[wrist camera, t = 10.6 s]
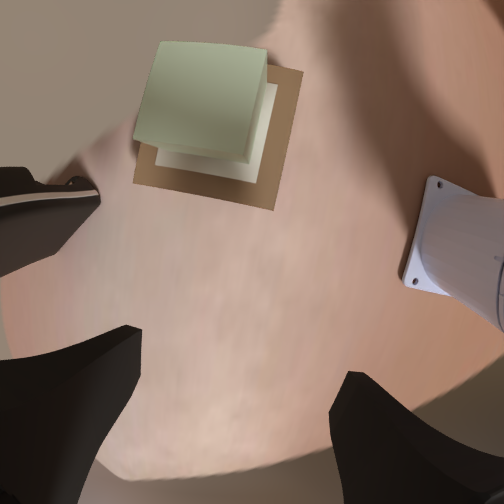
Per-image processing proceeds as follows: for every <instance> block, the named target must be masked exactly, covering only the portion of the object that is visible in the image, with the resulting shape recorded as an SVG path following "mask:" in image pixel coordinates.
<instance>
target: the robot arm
mask: <svg viewBox="0 0 504 504" xmlns="http://www.w3.org/2000/svg"><path fill="white" fill-rule="evenodd" d="M438 182H439V183H440V187H439V188H438V186H437V183H438ZM414 278H416V281H415V283H412V281H413V279H414ZM402 283H403V284H404V285H405V286H407V287H411V288H415V289H420V290H424V291H429V292H434V293H438V294H443V295H447V296H452V297H454V298H455V299H457V300H458V301H460V302H461V303H463V304H464V305H465V306H467V307H468V308H470V309H471V310H473V311H474V312H476V313H477V314H478V315H480V316H481V317H483V318H484V319H485V320H487V321H488V322H490V323H491V324H492V325H494V326H495V327H496V328H498V329H499V330H501V331H502V332H503V333H504V199H499V198H491V197H483V196H478V195H476V194H474V193H472V192H470V191H468V190H466V189H464V188H462V187H460V186H458V185H455V184H453V183H451V182H449V181H446V180H444V179H442V178H439V177H437V176H429V177H428V179H427V182H426V188H425V193H424V197H423V202H422V207H421V211H420V215H419V220H418V224H417V228H416V232H415V236H414V239H413V243H412V247H411V250H410V254H409V257H408V261H407V264H406V267H405V271H404V274H403V277H402ZM141 343H142V329H139V328H136V327H132V326H129V325H124V326H121V327H118V328H116V329H113V330H111V331H108V332H106V333H104V334H101V335H99V336H96V337H94V338H91V339H89V340H86V341H84V342H81V343H78V344H75V345H72V346H69V347H66V348H63V349H60V350H57V351H54V352H50V353H46V354H42V355H37V356H32V357H27V358H19V359H10V360H0V504H77V503H78V500H79V497H80V494H81V491H82V488H83V485H84V483H85V481H86V478H87V475H88V473H89V470H90V468H91V466H92V463H93V461H94V459H95V457H96V454H97V452H98V450H99V448H100V446H101V444H102V442H103V441H104V439H105V437H106V436H107V434H108V433H109V431H110V429H111V428H112V426H113V425H114V423H115V422H116V420H117V418H118V417H119V415H120V414H121V412H122V411H123V409H124V407H125V406H126V404H127V403H128V401H129V399H130V398H131V396H132V394H133V391H134V389H135V387H136V385H137V382H138V380H139V378H140V376H141ZM329 425H330V435H331V440H332V444H333V449H334V453H335V457H336V462H337V465H338V470H339V474H340V479H341V483H342V488H343V496H344V504H504V458H503V457H498V456H494V455H491V454H487V453H484V452H481V451H478V450H476V449H473V448H471V447H468V446H466V445H464V444H462V443H459V442H457V441H455V440H453V439H451V438H449V437H448V436H446V435H444V434H442V433H441V432H439V431H437V430H436V429H434V428H433V427H431V426H429V425H428V424H426V423H425V422H424V421H422V420H421V419H420V418H418V417H417V416H416V415H414V414H413V413H412V412H410V411H409V410H408V409H407V408H405V407H404V406H403V405H402V404H401V403H399V402H398V401H397V400H396V399H395V398H394V397H392V396H391V395H390V394H389V393H388V392H387V391H386V390H384V389H383V388H382V387H381V386H380V385H379V384H378V383H376V382H375V381H374V380H373V379H372V378H370V377H369V376H368V375H366V374H365V373H363V372H353V371H348V373H347V375H346V377H345V379H344V382H343V384H342V386H341V388H340V390H339V392H338V395H337V397H336V399H335V401H334V403H333V405H332V407H331V409H330V411H329Z"/></svg>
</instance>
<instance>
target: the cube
mask: <svg viewBox="0 0 504 504" xmlns="http://www.w3.org/2000/svg"><path fill="white" fill-rule="evenodd" d="M266 87H267V50H265V49H259V48H252V47H245V46H237V45H228V44H218V43H205V42H184V41H160V44H159V46H158V49H157V53H156V55H155V58H154V61H153V65H152V68H151V71H150V74H149V77H148V81H147V84H146V88H145V91H144V95H143V99H142V102H141V106H140V110H139V114H138V118H137V122H136V126H135V131H134V135H133V139H134V140H137V141H140V142H143V143H146V144H149V145H152V146H155V147H158V148H161V149H164V150H167V151H172V152H179V153H186V154H193V155H199V156H205V157H211V158H217V159H223V160H228V161H234V162H239V163H244V164H250V160H251V155H252V150H253V146H254V141H255V137H256V132H257V127H258V123H259V118H260V114H261V109H262V105H263V101H264V96H265V92H266Z"/></svg>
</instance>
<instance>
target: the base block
mask: <svg viewBox="0 0 504 504" xmlns="http://www.w3.org/2000/svg"><path fill="white" fill-rule="evenodd" d="M302 77H303V71H298V70H294V69H290V68H285V67H280V66H275V65H270V64H267V87H266V92H265V96H264V101H263V105H262V109H261V114H260V118H259V123H258V127H257V132H256V137H255V141H254V146H253V150H252V155H251V160H250V164H244V163H239V162H234V161H228V160H223V159H217V158H211V157H205V156H199V155H193V154H186V153H179V152H172V151H167V150H164V149H161V148H158V147H155V146H152V145H149V144H146V143H143V142H141V143H140V148H139V153H138V158H137V163H136V168H135V173H134V179H133V183H134V184H140V185H146V186H152V187H157V188H163V189H168V190H174V191H179V192H185V193H190V194H195V195H200V196H206V197H211V198H216V199H221V200H225V201H230V202H235V203H240V204H245V205H249V206H254V207H259V208H263V209H268V210H272V211H274V206H275V202H276V197H277V193H278V188H279V184H280V179H281V175H282V170H283V166H284V161H285V157H286V152H287V147H288V143H289V138H290V134H291V129H292V124H293V120H294V115H295V110H296V106H297V101H298V96H299V91H300V87H301V82H302Z"/></svg>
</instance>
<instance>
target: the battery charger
mask: <svg viewBox="0 0 504 504" xmlns="http://www.w3.org/2000/svg"><path fill="white" fill-rule="evenodd" d="M98 195H99V194H98V193H97V191H96V190H94V189H93V187H92V186H91V184H90V183H89V182H88V181H87V180H86V179H85V178H83V177H80V176H75V177H72V178H71V179H70V180H69V181H68V182H67V183H66V184H65V185H44V184H42V183H40V182H38V181H35V180H34V178H33V176H32V175H31V173H30V172H29V170H28V169H27V168H25V167H0V277H2V276H5V275H7V274H9V273H11V272H13V271H16V270H18V269H20V268H22V267H25V266H27V265H29V264H31V263H34V262H36V261H39V260H41V259H44V258H46V257H49V256H52V255H54V254H56V253H57V252H58V251H59V250H60V248H61V247H62V246H63V245H64V244H65V243H66V242H67V240H68V239H69V238H70V237H71V236H72V235H73V234H74V232H75V231H76V230H77V229H78V228H79V227H80V226H81V225H82V224H83V223H84V221H85V220H86V219H87V218H88V217H89V216H90V215H91V214H92V213H93V212H94V211H95V210H96V208H97V207H98V206H99V205H100V203H101V200H100V198H99V196H98Z"/></svg>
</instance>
